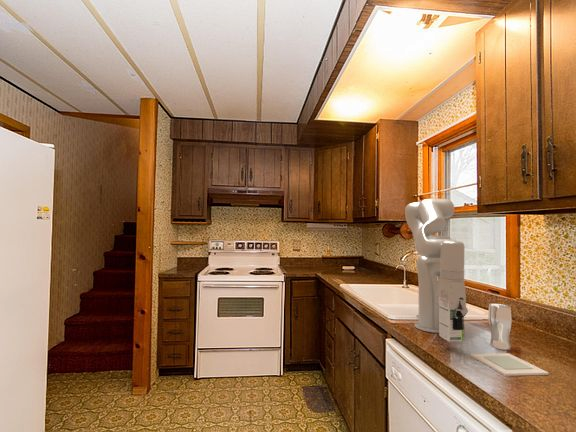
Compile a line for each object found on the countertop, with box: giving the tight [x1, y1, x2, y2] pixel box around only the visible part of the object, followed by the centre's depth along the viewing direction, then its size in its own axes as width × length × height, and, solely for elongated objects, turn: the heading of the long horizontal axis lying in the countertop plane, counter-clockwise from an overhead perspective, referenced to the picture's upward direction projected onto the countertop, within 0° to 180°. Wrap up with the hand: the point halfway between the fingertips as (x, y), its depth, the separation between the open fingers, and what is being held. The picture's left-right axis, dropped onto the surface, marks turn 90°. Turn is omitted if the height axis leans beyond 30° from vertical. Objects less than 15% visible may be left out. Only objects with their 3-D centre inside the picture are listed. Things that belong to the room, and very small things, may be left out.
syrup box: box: [438, 297, 465, 343], centre depth 106 cm, size 6×6×14 cm
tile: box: [470, 352, 550, 377], centre depth 94 cm, size 14×14×1 cm
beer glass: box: [487, 302, 513, 351], centre depth 109 cm, size 7×7×15 cm
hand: (451, 325), depth 106 cm, fingers closed on syrup box, 5 cm apart
